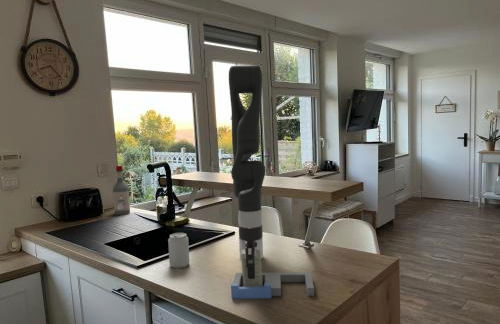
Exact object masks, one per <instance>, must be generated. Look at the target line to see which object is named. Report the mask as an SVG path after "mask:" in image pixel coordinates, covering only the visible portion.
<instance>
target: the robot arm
mask: <svg viewBox="0 0 500 324" xmlns="http://www.w3.org/2000/svg"><path fill="white" fill-rule="evenodd" d="M228 88H229V89H228V90H229V98H230V107H231V145H232V156H233V158H232V159H233V164H232V167H231V171H230V172H231V173H230V174H231V178H232V181H233V182H232V185H233V186H232V188H233V189H232V190H233V195H234V197H235V198H237V199H238V210H237V215H238V216H237V217H238V218H237V219H238V221H237V222H238V240H239V241H238V245H239V246H238V247H239V248H238V249H239V259H240V260H241V261H242V258H241V251H242V250H245V259H246V268H247V271H248V279H254V278H255V260H256V251H257V249H260V252H261V260H263V259H264V243H263V240H264V239H263V236H264V235H263V215H262V214H263V213H262V212H263V211H262V187H263V184H264V180H265V176H266V165H265V164H264V163H263V161H261V160H250V158H251V157H252V156H253V155H256V154H257V153H259V152H260V151H259V150H260V117H261V108H262V107H261V106H262V96H263V95H262V93H263V71H262V67H261V66H260V65H256V64H237V65H236V64H235V65H231V66H230V68H229V69H228ZM240 94H252V96H251V97H252V98H251V101H250V103H249V105H248V107H247V109H245V106H244V105H243V102H242V99H241V97H240ZM254 254H255V255H254ZM249 260H252V261H253V263H249Z"/></svg>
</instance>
